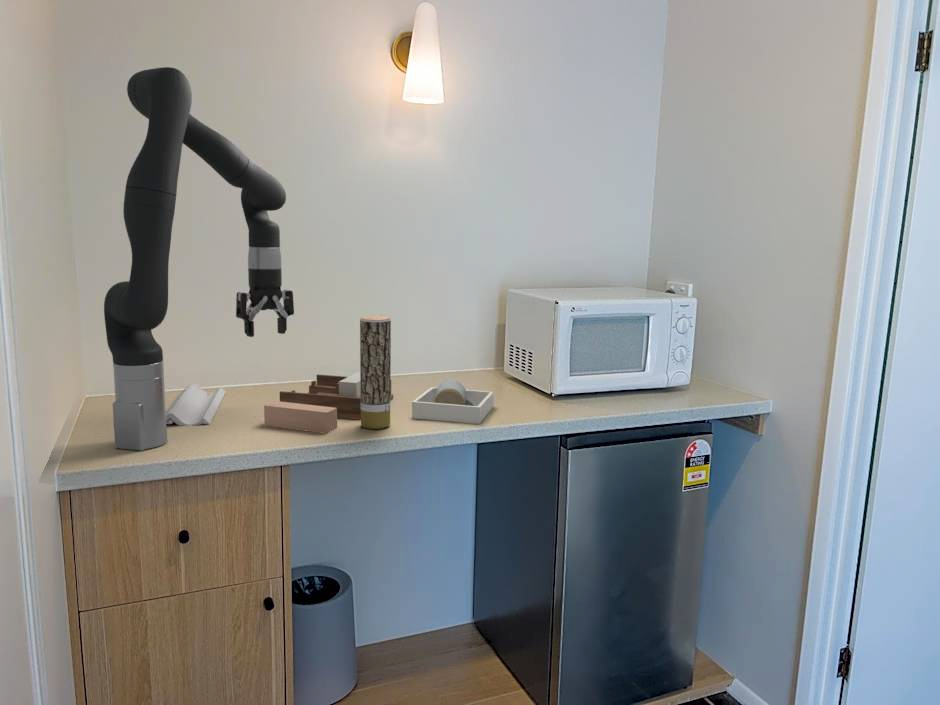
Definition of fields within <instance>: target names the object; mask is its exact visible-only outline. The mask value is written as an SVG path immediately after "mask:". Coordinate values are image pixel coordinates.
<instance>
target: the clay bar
mask: <svg viewBox="0 0 940 705" xmlns="http://www.w3.org/2000/svg"><path fill="white" fill-rule="evenodd" d="M263 411H264V412H263V414H264V415H263V418H264V420H263V422H264V426H265V425H266V426H265V427H271V426H274V427H273V428H279V427H284V428H283V429H287V428H291V429H290V430H295V429H299V430H298V431H303V430H307V431H306V432H311V431H315V432H314V433H319V432H323V433H322V434H329V433H331V432H333V431H334V429H335V430H336V428H337V429H338V417H337V408H334V407H325V406H316V405H307V404H298V403H289V402H280V400H275V401H272V402H269V403H267V404H264V405H263ZM332 430H333V431H332ZM330 431H331V432H330ZM328 432H329V433H328Z"/></svg>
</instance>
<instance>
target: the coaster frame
mask: <svg viewBox="0 0 940 705" xmlns="http://www.w3.org/2000/svg"><path fill="white" fill-rule="evenodd" d="M437 388H438V387H436V386H435V387H434V386H431V387H429V388H428V389H427V390H426V391H424V392H423V393H422V394H421V395H419V396H418V397H417V398H416V399H414V400H413V401H411V419H417V420H418V419H419V420H430V421H432V420H433V421H440V420H441V421H442V422H451V421H454V422H455V423H463V422H469V423H468V424H475V423H478V425H480V424H482V422H483V420H484V419H485V418H486V417H487V415H488V414H490V412H491V411H492V409H494V404H495V402H494V401H495V400H494V399H495V398H494V397H495V392H494V391H488V390H487V391H486V390H475V389H474V390H473V389H465V390H466V394H467V397H466V399H468V400H469V401H471V402H472V403H474V404H475V405H476V406H467V405H455V404H443V403H435V396H436V391H437ZM481 421H482V422H481Z"/></svg>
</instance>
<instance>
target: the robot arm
mask: <svg viewBox="0 0 940 705" xmlns="http://www.w3.org/2000/svg"><path fill="white" fill-rule="evenodd" d="M190 84H191V83H190V82H189V80H188V78H187V76H186V75H185V74H184V73H183V72H182V71H181V70H179V69H177V68H175V67H169V66H166V67H165V66H163V67H156V68H149V69H144V70H140V71H138V72H135V73H134V74H133V75H132V76H131V77H130V78H129V80H128V82H127V86H126V88H127V89H126V92H127V96H128V97H127V98H128V100H129V102H130V103H131V105H132V106H133V108H134V109H135V110H136V111H137V112H138V113H140V115H142V116H143V117H145V118H147V119H148V125H147V131H146V135H145V136H146V137H145V139H144V143H143V145H142V146H141V149H140V150H139V153H138V155H137V156H136V158H135V160H134V162H133V163H132V166H131V167H130V170H129V173H128V175H127V178H126V183H125V190H124V198H123V199H124V200H123V210H122V211H123V221H124V226H125V230H126V233H127V237H128V240H129V245H130V249H131V265H130V275H129V280H128V281H126V280H125V281H120V282H117V283H115V284H113V285H112V286H111V287H110V288H109V289H108V290H107V293H106V294H105V297H104V301H103V315H104V324H105V332H106V335H105V336H106V342H107V346H108V347H107V348H108V349H109V351H110V353H111V356H112V367H113V380H114V381H113V382H114V395H115V396H114V397H115V401H113V402H112V417H113V418H112V419H113V433H114V448H115V449H122V450H123V449H124V450H130V451H144V450H148V449H151V448H152V449H153V448H156V447H160V446H163V445H165V444H167V442H168V435H167V434H168V429H167V426H168V424H166V411H167V410H166V408H167V407H166V391H165V390H166V389H165V373H164V354H163V353H164V352H163V348H162V346H161V345H160V344H159V343H158V342H157V340H156V338H154V336H153V333H152V330H154V329H156V328H157V327H159V326H161V324H162V322H163V321H164V320H165V318H166V315H167V311H168V307H169V306H168V305H169V261H170V251H171V243H172V242H171V241H172V232H173V222H174V218H175V217H174V216H175V211H176V210H175V209H176V200H177V192H178V191H177V190H178V181H179V180H178V179H179V173H180V164H181V157H182V149H183V145H184V146H186V147H187V148H189V149H190V150H191V151H192V152H193V153H195V154H196V156H198V157H199V158H201V159H202V160H203V161H204V162H205V163H206V164H207V165H208V166H209V167H210V168H212V169H213V170H214V171H215V172H216V173H217V174H218V175H219V176H220V177H221V178H222V179H223V180H225V181H226V183H228V185H230V186H232V187H234V188H238V189H241V192H240V202H241V207H242V211H243V215H244V220H245V223H246V225H247V229H248V252H247V253H248V254H247V270H248V272H247V274H248V279H247V280H248V286H249V291H248V292H241V291H239V292H237V293H236V304H235V305H236V306H235V307H236V308H235V317H236V318H238V319H240V320H243V322H244V323H243V325H244V331H243V332H244V334H245V335H246V337H250V338H253V337H254V336H255V321H254V319H255V317H256V315H258V314H259V312H260V311H267V310H272V311H274V312H275V314H276V316H278V317H277V333H278V334H280V335H283V334H286V332H287V331H288V330H287V328H288V324H287V323H288V322H287V319H288V317H290V316H293V315H294V314H295V306H294V292H293V290H288V289H283V290H282V289H281V287H282V254H281V237H280V236H281V234H280V233H281V232H280V227H279V224H278V223H276V222H275V221H273V220H270V219H271V218H270V216H269V214H268V211H269V212H272V211H278V210H280V209H281V208H283V207H284V205H285V203H286V201H287V193H286V190H285V188H284V186H283V184H282V183H281V182H280V181H279V180H278V179H277V178H276V177H275V176H273V175H272V174H270V173H269V172H268V171H266V170H265V169H263V168H262V167H260V166H259V165H256V164H255V163H253V161H251V160H250V159H249V157H247V155H245V153H244V152H242V150H241V149H239V148H238V146H237V145H236V144H234V143H233V142H232V141H231V140H229V139H228V138H226V136H224V135H223V134H222V133H221V134H220V133H219V132H218V131H215V130H214V129H212V128H211V127H209V126H208V125H206V124H204V123H203V122H201V121H200V120H199V119H198V118H196V117H194V116H193V115H192V114H191V107H192V103H193V102H192V100H193V98H192V96H193V95H192V87H191V85H190ZM281 299H282V300H283V304H282V303H281V302H280V301H281ZM248 301H250V303H249V304H247V303H248ZM247 305H248V306H247Z"/></svg>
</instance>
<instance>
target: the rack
mask: <svg viewBox="0 0 940 705" xmlns="http://www.w3.org/2000/svg"><path fill="white" fill-rule="evenodd" d="M347 377H348V376H345V375H344V376H341V375H329V374H316V380H312V381H311V384H310V385H308V392H306V393H305V392H296V390H291V391H279V401H280V402H289V403H298V404H307V405H316V406H325V407H334V408H337V418H342V419H354V420H361V406H360V402H361V401H360V398H359V397H346V396H339V381H341V380H343V379H345V378H347ZM393 399H394V394H392V393H391V400H393Z"/></svg>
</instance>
